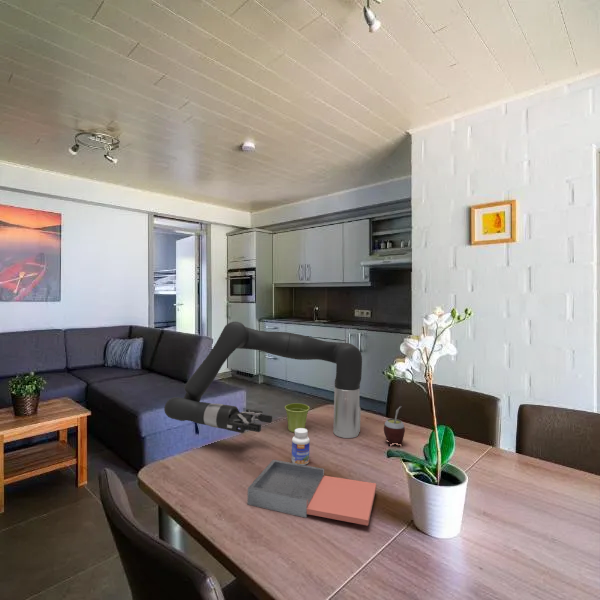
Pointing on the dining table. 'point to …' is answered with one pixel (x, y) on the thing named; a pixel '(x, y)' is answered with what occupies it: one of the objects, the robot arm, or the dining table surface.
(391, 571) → the dining table surface
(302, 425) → the plant pot
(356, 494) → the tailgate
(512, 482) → the dining table surface
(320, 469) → the grey square tray
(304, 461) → the pill bottle
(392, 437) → the mate gourd
